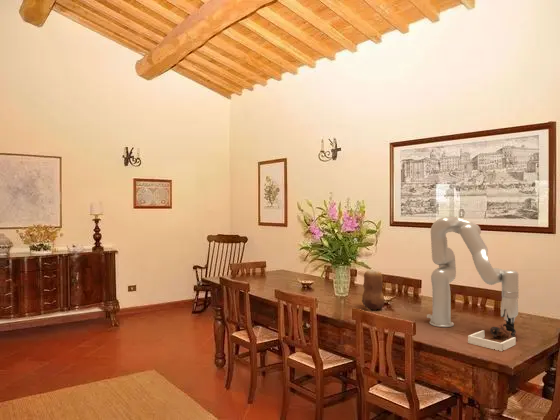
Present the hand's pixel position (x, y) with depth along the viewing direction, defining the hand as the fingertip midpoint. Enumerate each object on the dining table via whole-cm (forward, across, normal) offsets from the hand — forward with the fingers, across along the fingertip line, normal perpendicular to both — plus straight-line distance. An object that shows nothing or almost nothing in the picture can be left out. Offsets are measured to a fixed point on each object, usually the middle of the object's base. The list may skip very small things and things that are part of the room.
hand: (510, 330), depth 226 cm
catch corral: (+3, +18, 0) cm, 19 cm away
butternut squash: (+3, +6, -81) cm, 82 cm away
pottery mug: (+3, +7, -1) cm, 8 cm away
